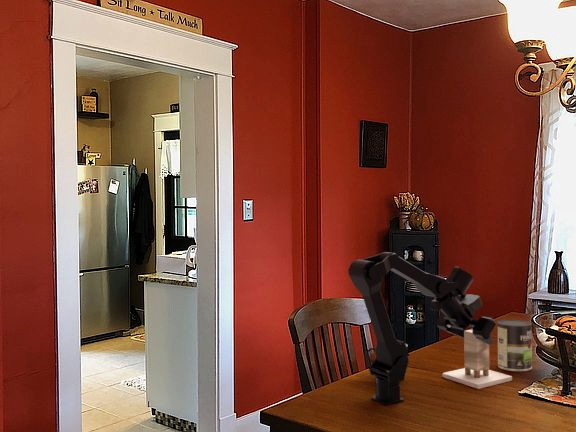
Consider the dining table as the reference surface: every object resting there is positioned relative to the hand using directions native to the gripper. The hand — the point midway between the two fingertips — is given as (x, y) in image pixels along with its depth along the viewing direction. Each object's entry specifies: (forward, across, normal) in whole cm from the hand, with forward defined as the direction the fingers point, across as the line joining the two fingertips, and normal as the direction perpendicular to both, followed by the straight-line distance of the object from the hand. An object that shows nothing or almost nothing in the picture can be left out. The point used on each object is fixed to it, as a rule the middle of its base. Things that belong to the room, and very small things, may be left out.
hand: (479, 340), depth 188 cm
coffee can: (+21, +2, -4) cm, 21 cm away
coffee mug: (-7, +16, +23) cm, 29 cm away
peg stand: (+7, 0, +9) cm, 11 cm away
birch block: (+5, 0, +6) cm, 8 cm away
